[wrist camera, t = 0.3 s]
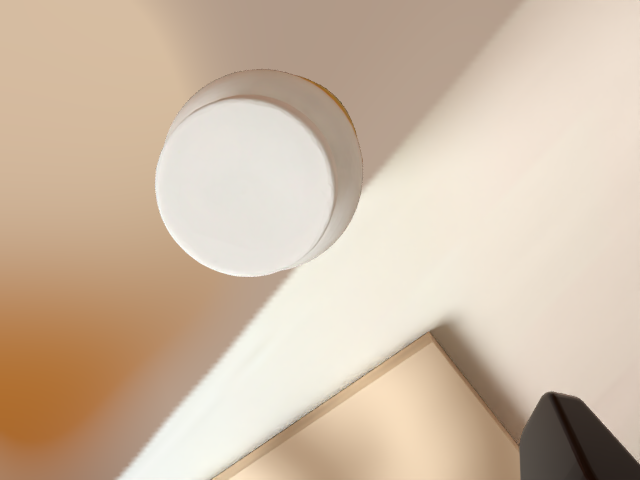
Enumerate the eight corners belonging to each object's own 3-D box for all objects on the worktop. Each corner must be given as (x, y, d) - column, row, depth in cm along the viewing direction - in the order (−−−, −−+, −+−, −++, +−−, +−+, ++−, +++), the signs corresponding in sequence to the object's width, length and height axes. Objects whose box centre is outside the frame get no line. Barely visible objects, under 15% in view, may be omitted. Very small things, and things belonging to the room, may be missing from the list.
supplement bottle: (313, 245, 23) (290, 350, 14) (190, 176, 23) (82, 236, 14) (386, 121, 22) (413, 147, 13) (257, 45, 22) (188, 15, 12)
